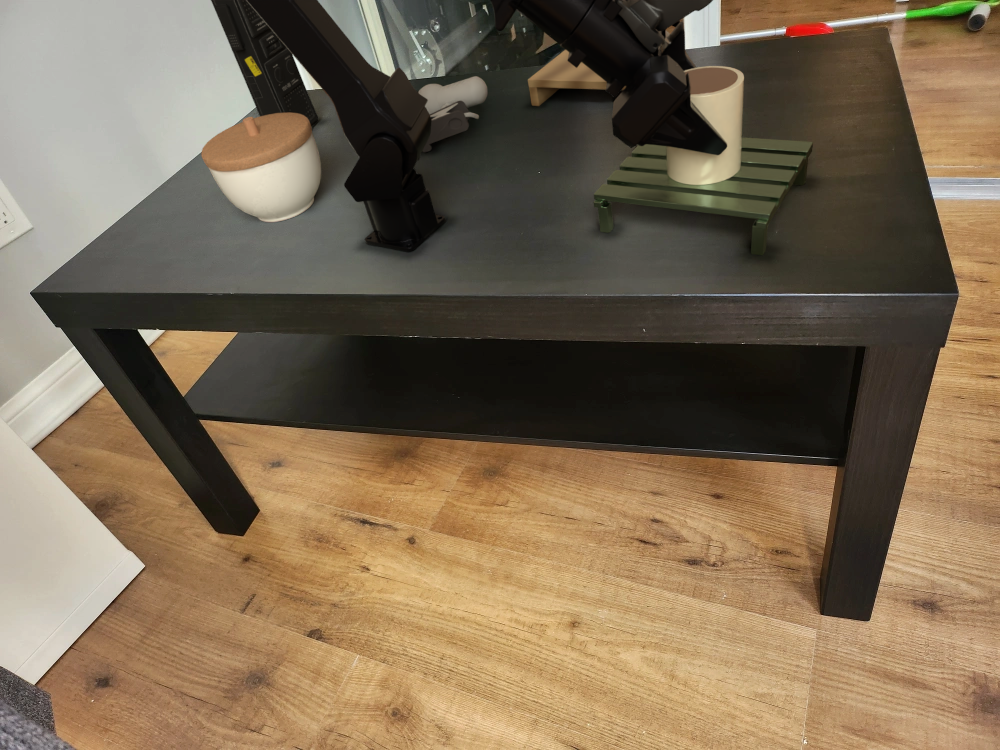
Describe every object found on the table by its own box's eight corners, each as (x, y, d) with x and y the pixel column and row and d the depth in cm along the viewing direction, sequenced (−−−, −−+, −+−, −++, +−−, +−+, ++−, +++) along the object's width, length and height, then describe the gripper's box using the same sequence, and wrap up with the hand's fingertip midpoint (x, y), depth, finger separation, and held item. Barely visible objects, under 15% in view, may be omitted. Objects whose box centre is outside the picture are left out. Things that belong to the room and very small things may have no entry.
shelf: (531, 105, 95) (527, 79, 93) (573, 70, 102) (570, 45, 99) (642, 111, 87) (640, 82, 85) (679, 72, 94) (678, 45, 91)
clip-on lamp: (361, 174, 96) (471, 143, 87) (335, 133, 92) (447, 96, 83) (396, 128, 103) (501, 95, 94) (372, 88, 99) (480, 49, 90)
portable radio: (295, 144, 101) (216, -53, 85) (261, 145, 103) (178, -46, 87) (322, 120, 106) (253, -70, 90) (290, 122, 108) (217, -63, 92)
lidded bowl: (348, 206, 83) (314, 114, 76) (244, 247, 80) (199, 156, 73) (321, 171, 92) (289, 87, 85) (227, 207, 89) (186, 122, 82)
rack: (595, 233, 68) (591, 196, 65) (653, 165, 76) (652, 129, 73) (765, 258, 60) (767, 216, 57) (810, 179, 68) (814, 139, 65)
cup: (662, 158, 68) (658, 73, 63) (732, 146, 67) (734, 59, 62) (672, 190, 63) (669, 101, 58) (748, 178, 62) (752, 87, 57)
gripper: (648, -49, 46) (812, 96, 51) (648, -103, 60) (778, 15, 64) (547, 87, 53) (699, 204, 58) (567, 11, 67) (690, 111, 71)
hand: (719, 127), depth 63 cm, fingers open, 9 cm apart
